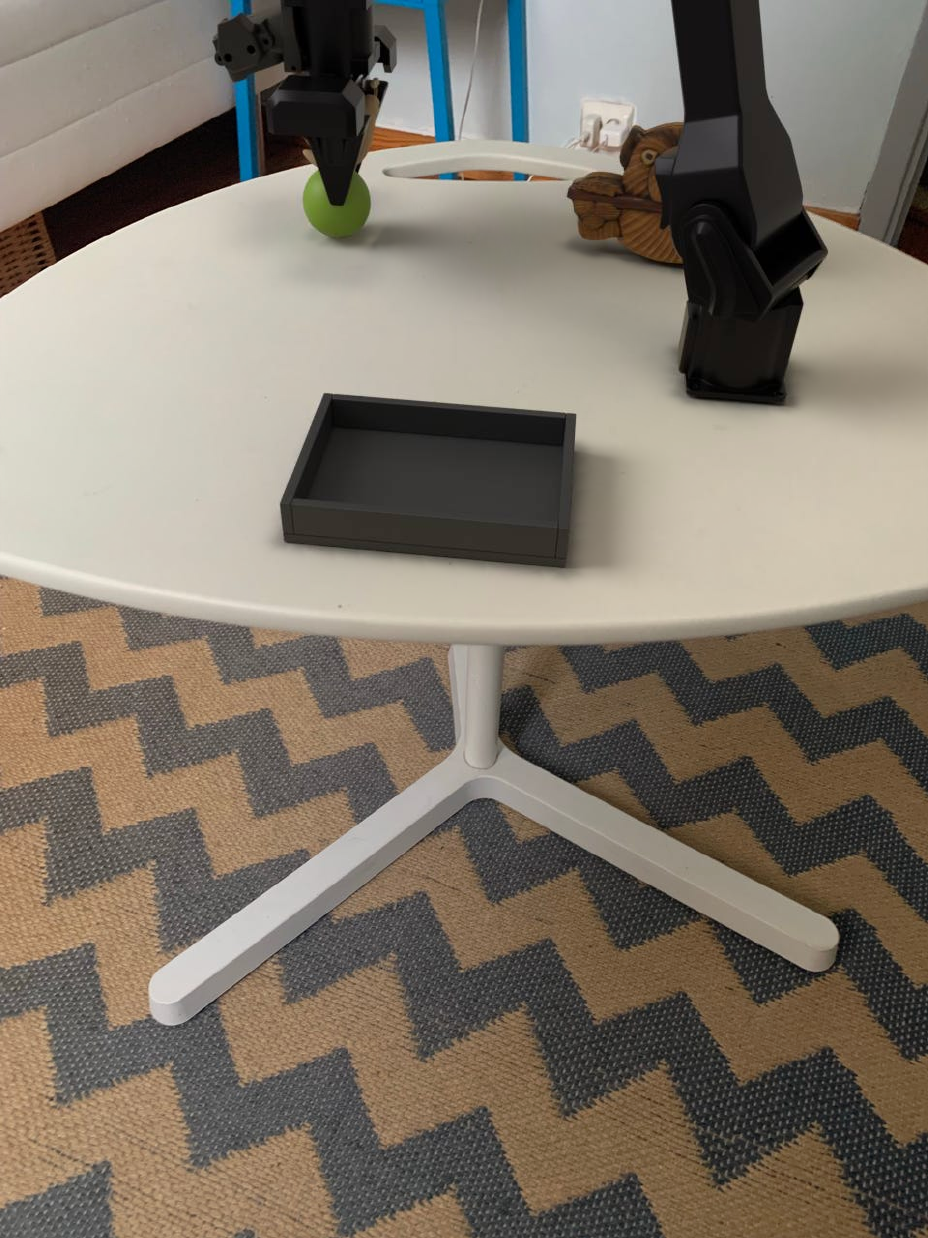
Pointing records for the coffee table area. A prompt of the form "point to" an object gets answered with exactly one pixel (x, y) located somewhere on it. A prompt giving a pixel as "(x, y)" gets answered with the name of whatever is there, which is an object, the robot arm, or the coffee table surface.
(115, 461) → the coffee table surface
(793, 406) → the coffee table surface
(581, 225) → the wooden carving
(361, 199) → the snail figurine
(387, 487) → the tray
